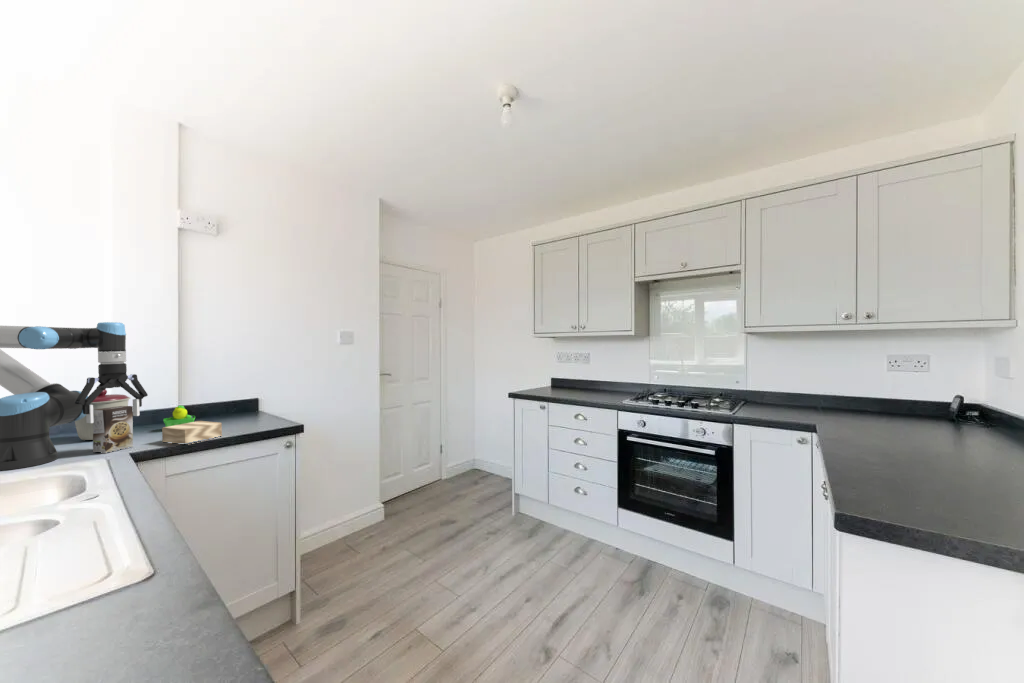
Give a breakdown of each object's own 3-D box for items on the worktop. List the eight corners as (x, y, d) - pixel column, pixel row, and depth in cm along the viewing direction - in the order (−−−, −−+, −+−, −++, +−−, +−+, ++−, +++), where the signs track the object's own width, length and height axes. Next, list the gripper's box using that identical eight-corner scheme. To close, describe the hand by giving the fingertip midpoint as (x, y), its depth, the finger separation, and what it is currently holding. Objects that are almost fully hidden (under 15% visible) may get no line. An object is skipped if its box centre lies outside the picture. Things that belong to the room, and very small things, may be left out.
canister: (142, 433, 177) (141, 386, 177) (96, 443, 159) (95, 391, 159) (106, 432, 179) (105, 386, 179) (57, 443, 161) (56, 391, 161)
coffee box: (105, 453, 145) (105, 409, 144) (92, 453, 146) (91, 409, 146) (134, 447, 154) (133, 405, 153) (121, 446, 155) (120, 405, 155)
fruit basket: (195, 425, 193) (194, 402, 193) (195, 428, 186) (195, 404, 186) (163, 429, 185) (163, 405, 185) (163, 432, 178) (162, 407, 178)
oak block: (185, 445, 155) (184, 429, 155) (162, 442, 160) (162, 427, 160) (221, 436, 169) (221, 422, 169) (199, 434, 173) (199, 420, 173)
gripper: (72, 365, 137) (74, 426, 137) (157, 361, 160) (159, 413, 160) (60, 365, 139) (62, 425, 139) (146, 361, 163) (147, 412, 163)
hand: (114, 419), depth 150 cm, fingers open, 13 cm apart
